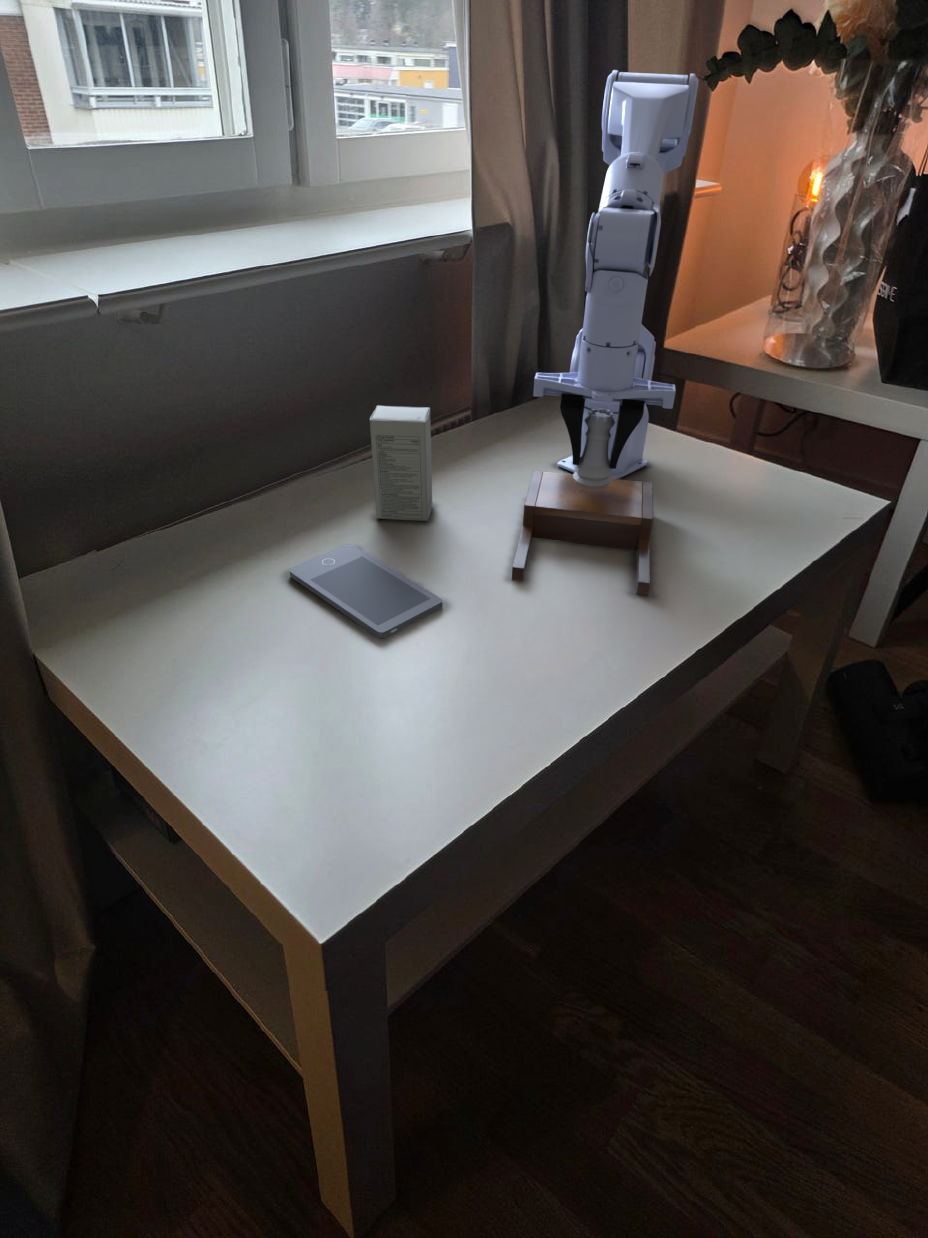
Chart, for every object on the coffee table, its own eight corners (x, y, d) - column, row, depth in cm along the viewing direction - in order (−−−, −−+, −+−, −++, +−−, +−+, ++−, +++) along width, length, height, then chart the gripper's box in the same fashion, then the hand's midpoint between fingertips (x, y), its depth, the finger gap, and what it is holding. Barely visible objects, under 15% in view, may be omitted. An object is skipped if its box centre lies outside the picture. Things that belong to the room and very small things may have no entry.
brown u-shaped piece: (647, 595, 85) (654, 561, 83) (511, 579, 87) (513, 546, 85) (647, 512, 100) (652, 482, 97) (530, 500, 101) (533, 470, 99)
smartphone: (446, 606, 82) (446, 600, 82) (381, 640, 78) (381, 634, 77) (351, 547, 91) (350, 542, 90) (287, 575, 86) (287, 569, 86)
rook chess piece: (586, 493, 91) (595, 423, 87) (564, 476, 94) (571, 408, 90) (620, 485, 93) (630, 416, 88) (597, 469, 96) (606, 402, 92)
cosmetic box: (433, 505, 100) (433, 406, 93) (428, 522, 96) (428, 421, 89) (379, 501, 100) (376, 402, 93) (373, 518, 97) (368, 417, 89)
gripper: (534, 345, 82) (524, 471, 90) (684, 357, 80) (661, 485, 88) (541, 324, 88) (531, 445, 96) (682, 335, 86) (660, 457, 94)
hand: (594, 462), depth 92 cm, fingers closed on rook chess piece, 3 cm apart
